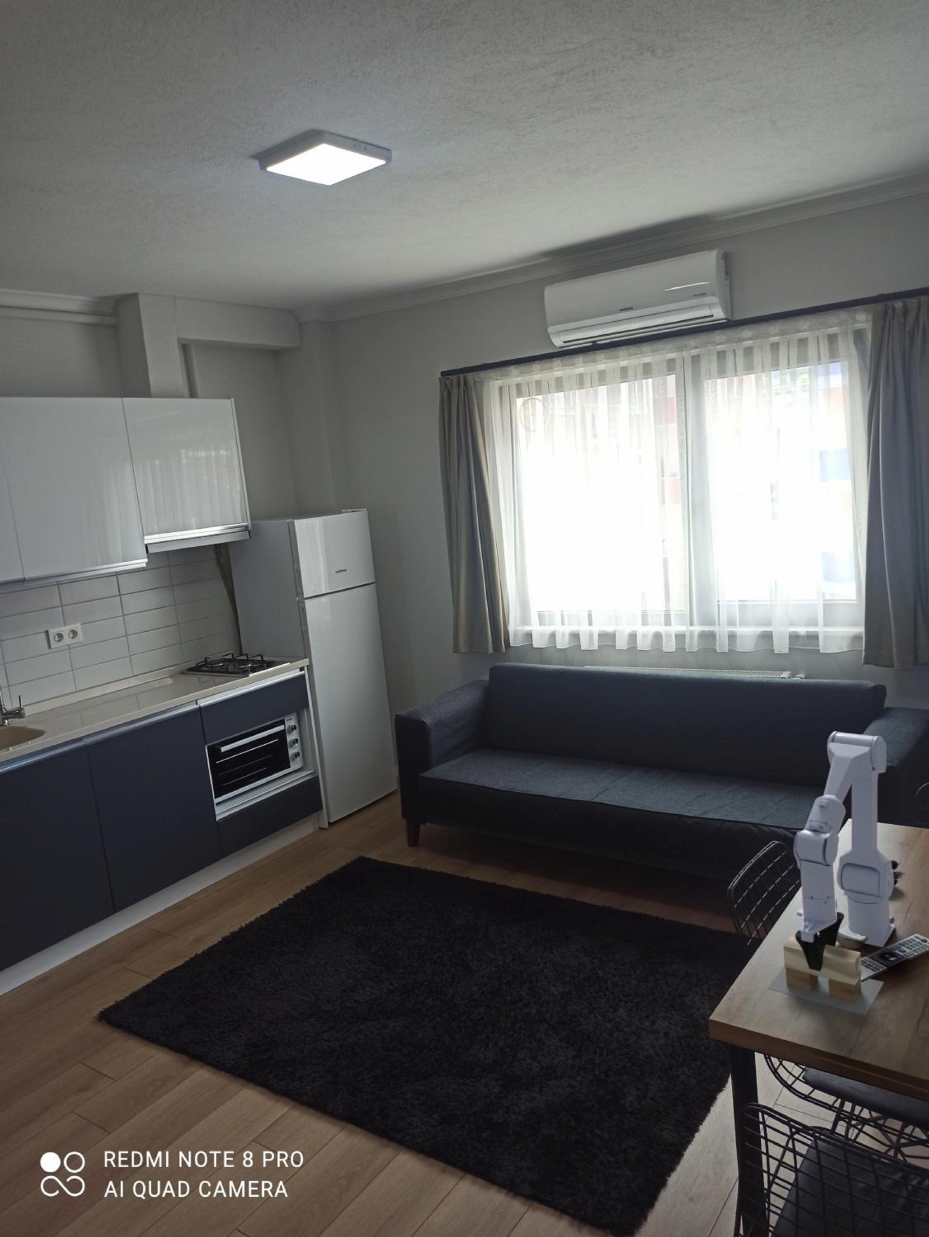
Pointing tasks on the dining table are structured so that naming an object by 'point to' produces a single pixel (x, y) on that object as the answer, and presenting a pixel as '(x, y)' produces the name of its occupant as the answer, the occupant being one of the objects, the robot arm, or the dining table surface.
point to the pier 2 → (844, 990)
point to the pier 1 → (800, 979)
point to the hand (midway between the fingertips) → (821, 959)
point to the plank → (825, 962)
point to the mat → (822, 993)
